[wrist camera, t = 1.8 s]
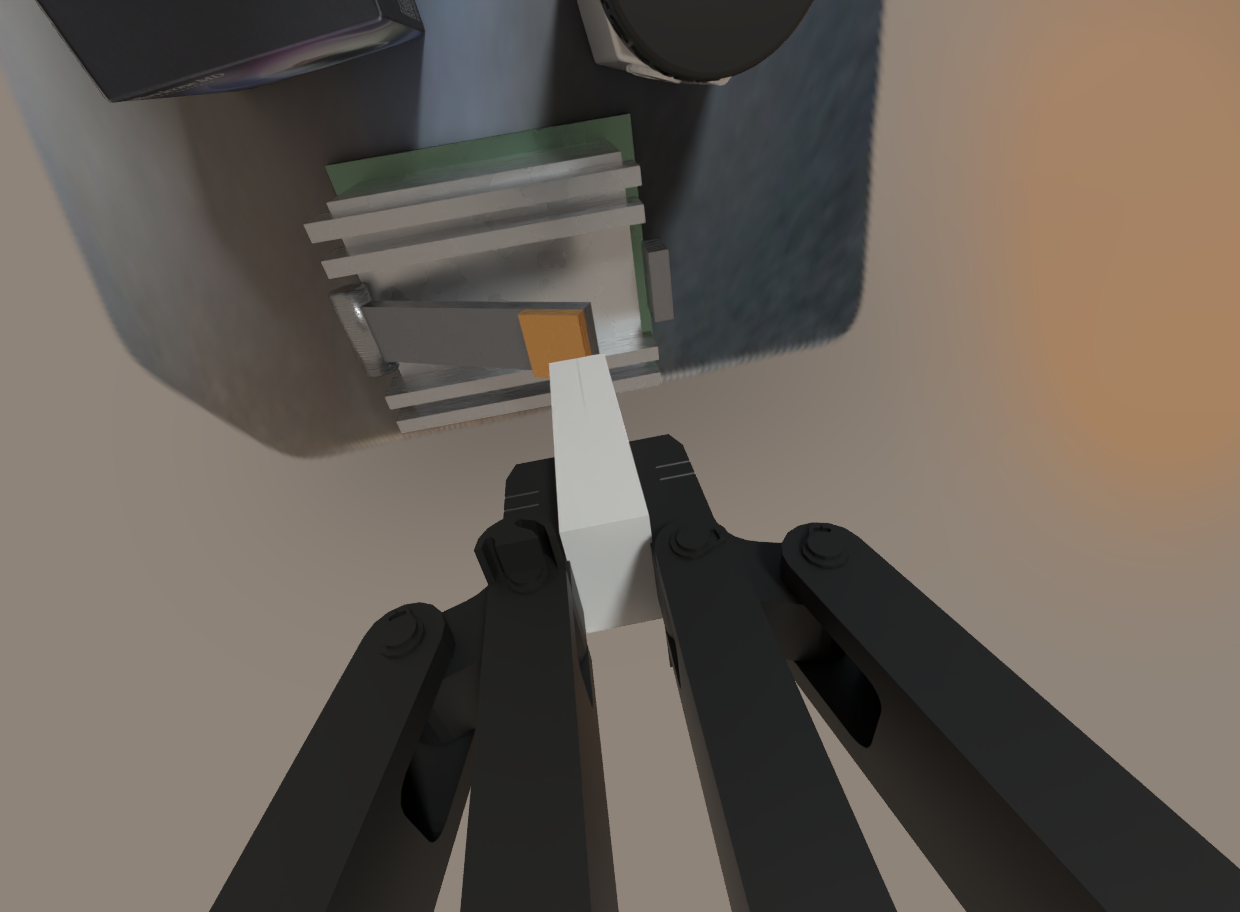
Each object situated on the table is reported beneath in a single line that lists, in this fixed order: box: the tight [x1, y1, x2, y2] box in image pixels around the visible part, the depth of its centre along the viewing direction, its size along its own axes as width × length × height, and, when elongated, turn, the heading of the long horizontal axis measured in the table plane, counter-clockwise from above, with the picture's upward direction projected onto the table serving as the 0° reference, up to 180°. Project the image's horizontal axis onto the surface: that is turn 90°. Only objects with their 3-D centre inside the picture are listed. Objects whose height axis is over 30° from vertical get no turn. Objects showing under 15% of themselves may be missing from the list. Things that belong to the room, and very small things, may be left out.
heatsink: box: [303, 113, 674, 433], centre depth 30 cm, size 14×17×9 cm
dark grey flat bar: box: [328, 284, 600, 378], centre depth 25 cm, size 14×4×2 cm, turn 98°
